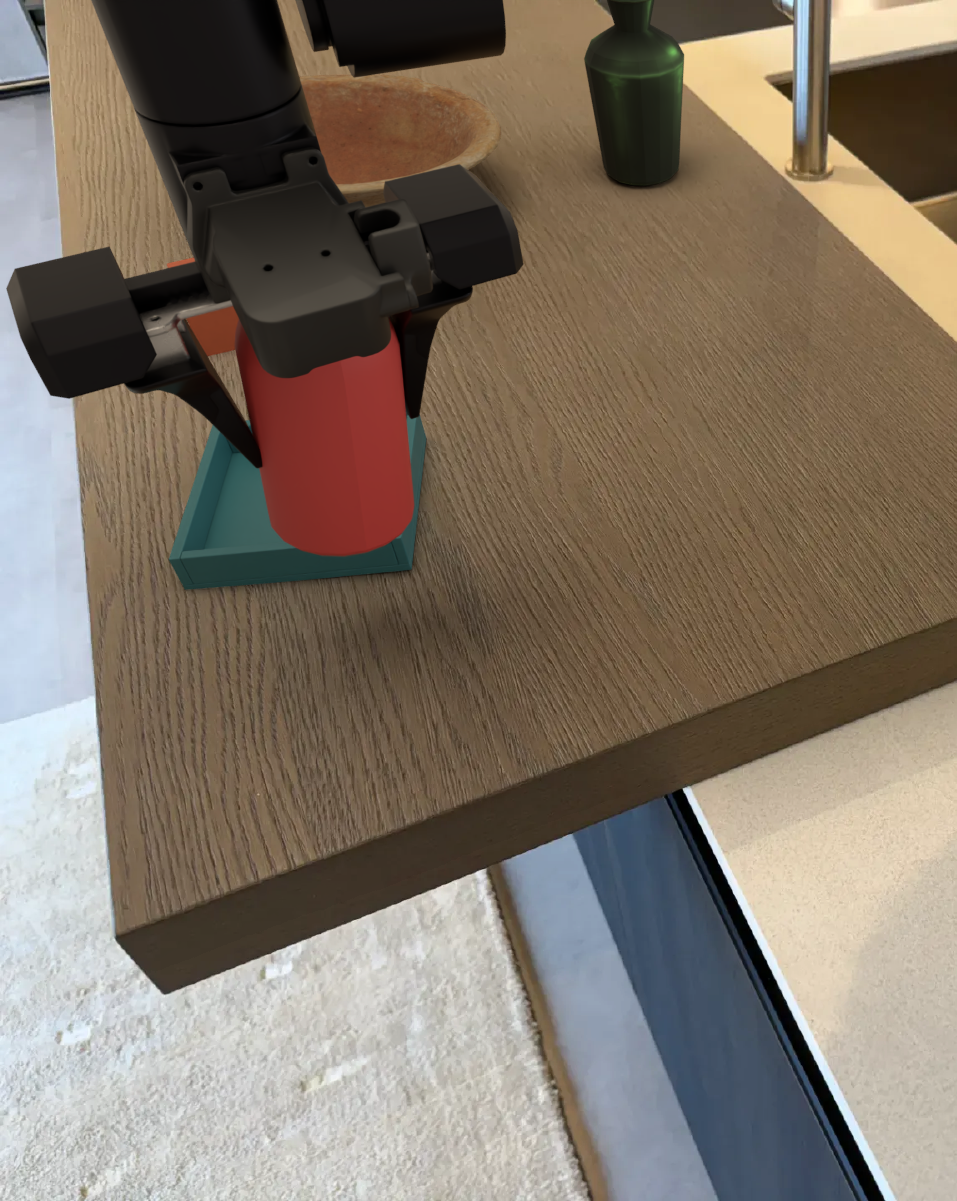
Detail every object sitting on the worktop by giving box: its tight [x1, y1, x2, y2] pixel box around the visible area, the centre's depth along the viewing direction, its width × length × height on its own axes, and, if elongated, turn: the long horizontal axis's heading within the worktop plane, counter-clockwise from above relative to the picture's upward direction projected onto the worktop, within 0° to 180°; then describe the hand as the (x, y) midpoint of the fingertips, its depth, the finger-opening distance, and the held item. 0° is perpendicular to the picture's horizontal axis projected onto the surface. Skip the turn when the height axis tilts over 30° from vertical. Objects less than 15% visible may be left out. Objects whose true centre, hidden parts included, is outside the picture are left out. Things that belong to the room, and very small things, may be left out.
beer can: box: [234, 316, 414, 557], centre depth 51 cm, size 7×7×12 cm
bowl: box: [299, 74, 502, 207], centre depth 90 cm, size 24×24×8 cm
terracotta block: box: [166, 257, 239, 357], centre depth 79 cm, size 5×5×5 cm
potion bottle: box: [583, 0, 685, 186], centre depth 92 cm, size 8×8×18 cm
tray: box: [168, 413, 427, 591], centre depth 67 cm, size 12×12×2 cm
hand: (337, 437), depth 52 cm, fingers closed on beer can, 7 cm apart
